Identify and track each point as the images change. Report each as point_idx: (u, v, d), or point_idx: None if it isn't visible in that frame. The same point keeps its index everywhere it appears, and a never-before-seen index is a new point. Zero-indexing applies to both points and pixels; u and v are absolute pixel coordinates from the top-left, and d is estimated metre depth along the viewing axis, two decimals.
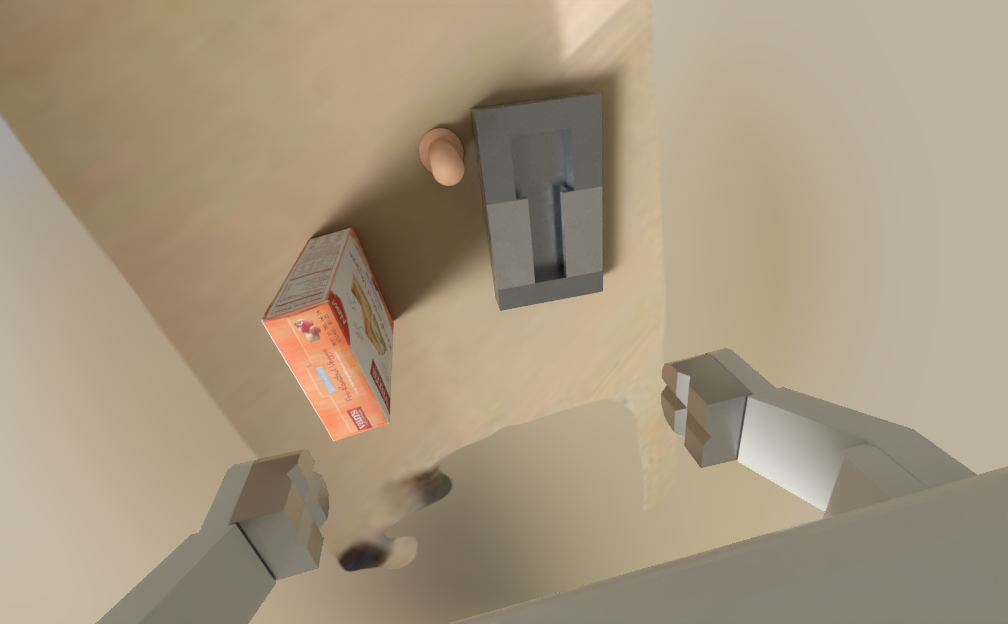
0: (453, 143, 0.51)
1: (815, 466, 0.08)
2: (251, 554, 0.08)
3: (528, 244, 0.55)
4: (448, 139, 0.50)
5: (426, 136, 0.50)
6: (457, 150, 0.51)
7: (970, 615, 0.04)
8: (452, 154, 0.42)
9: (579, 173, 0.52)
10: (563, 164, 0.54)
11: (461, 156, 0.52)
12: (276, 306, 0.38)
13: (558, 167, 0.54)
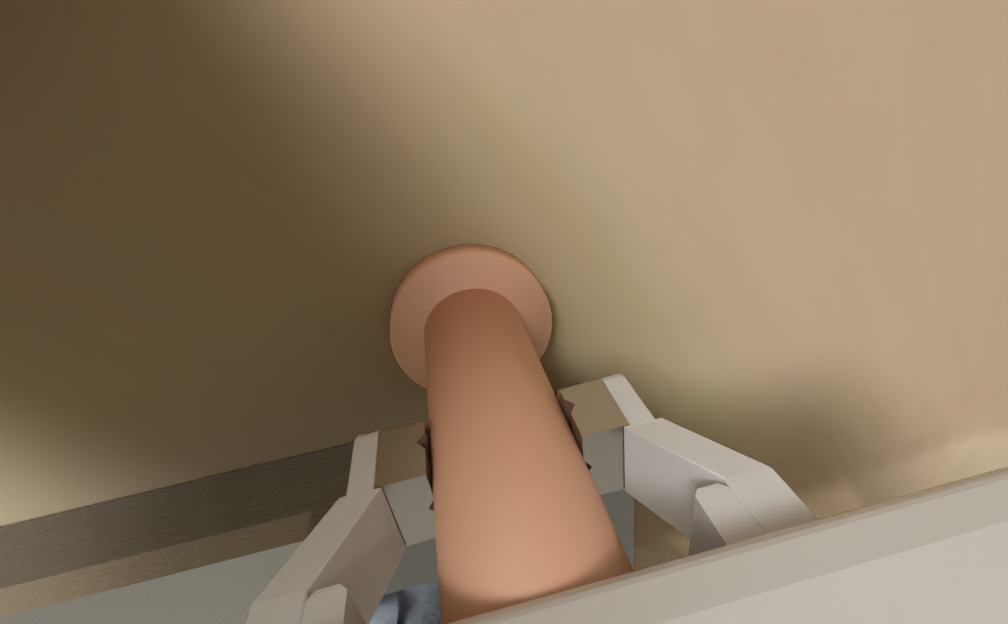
0: None
1: (686, 501, 0.08)
2: (391, 518, 0.08)
3: None
4: None
5: (528, 280, 0.13)
6: None
7: (970, 615, 0.04)
8: None
9: None
10: None
11: None
12: None
13: None
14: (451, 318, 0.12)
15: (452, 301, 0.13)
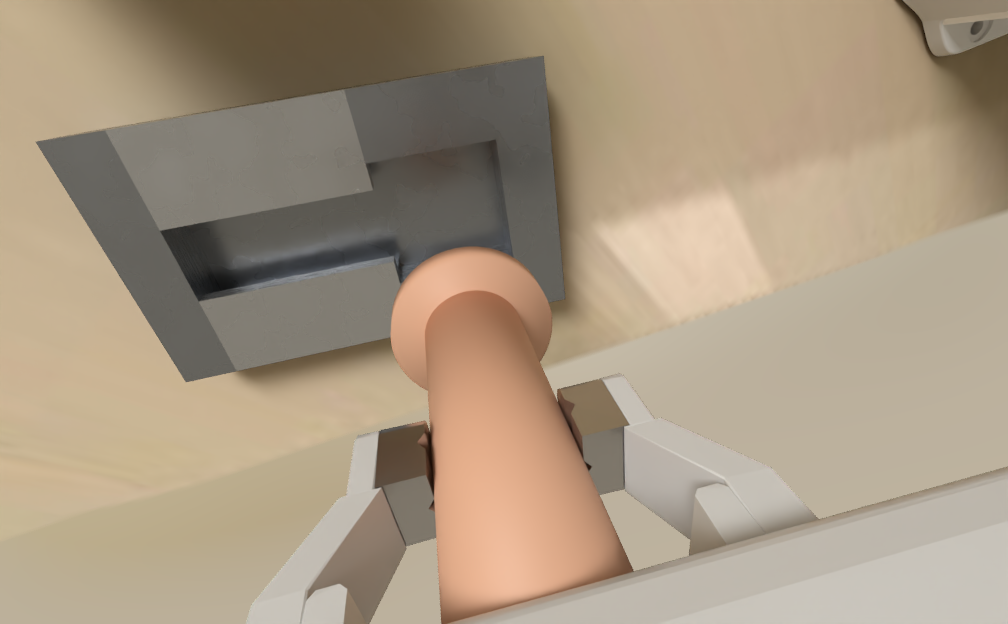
0: None
1: (685, 501, 0.08)
2: (391, 518, 0.08)
3: (263, 203, 0.24)
4: None
5: (528, 282, 0.13)
6: None
7: (970, 615, 0.04)
8: None
9: None
10: (438, 253, 0.29)
11: None
12: None
13: (433, 244, 0.29)
14: (452, 320, 0.12)
15: (452, 303, 0.13)
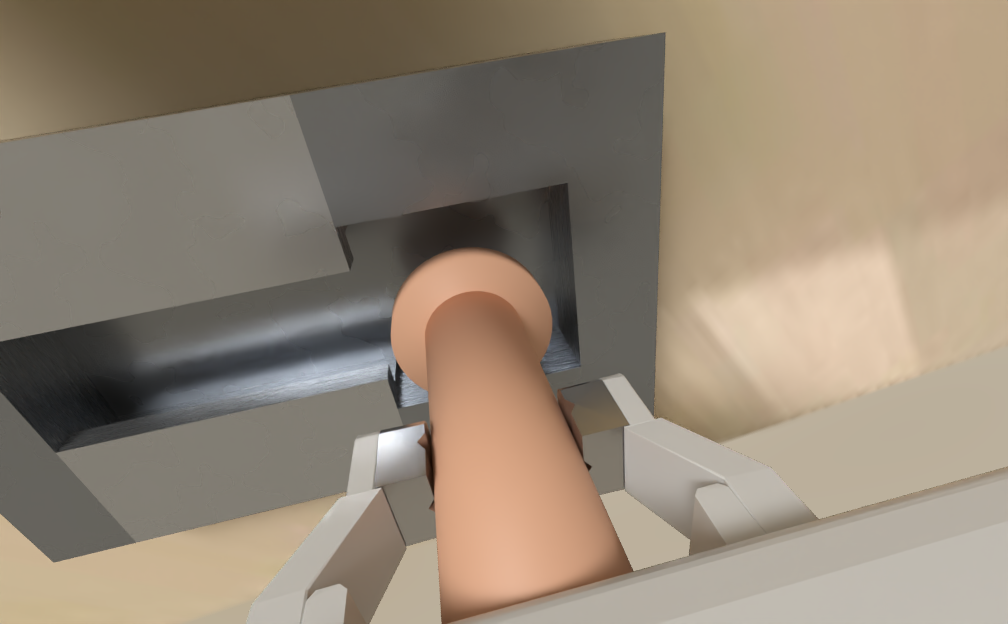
0: None
1: (685, 501, 0.08)
2: (391, 518, 0.08)
3: (151, 298, 0.13)
4: None
5: (528, 283, 0.13)
6: None
7: (970, 615, 0.04)
8: None
9: None
10: None
11: None
12: None
13: None
14: (452, 320, 0.12)
15: (453, 303, 0.13)
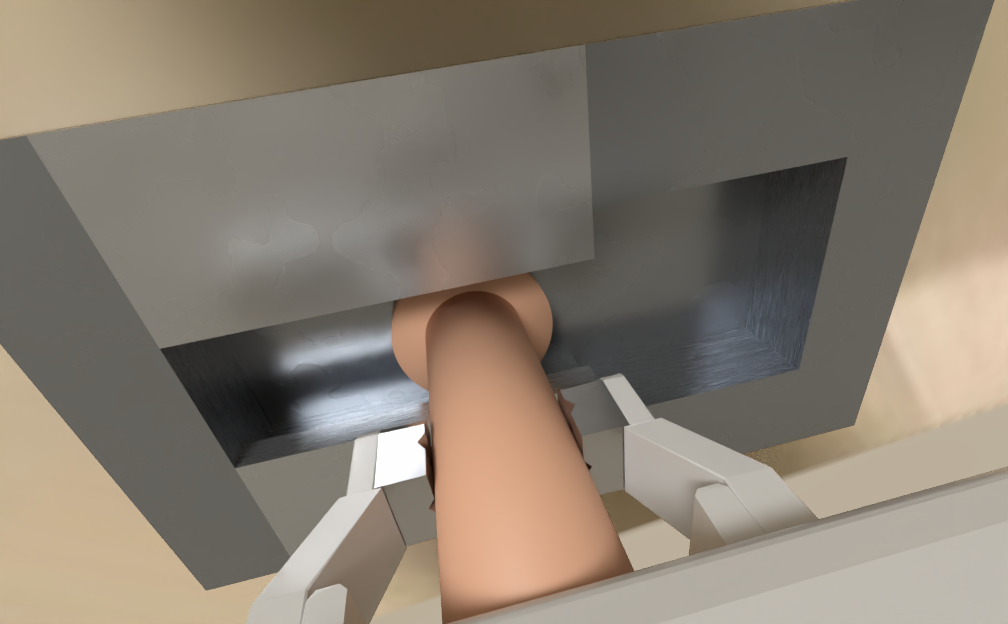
0: None
1: (686, 501, 0.08)
2: (391, 518, 0.08)
3: (377, 289, 0.11)
4: None
5: (529, 283, 0.13)
6: None
7: (970, 615, 0.04)
8: None
9: None
10: (638, 346, 0.17)
11: None
12: None
13: (633, 333, 0.17)
14: (452, 320, 0.12)
15: (453, 303, 0.13)
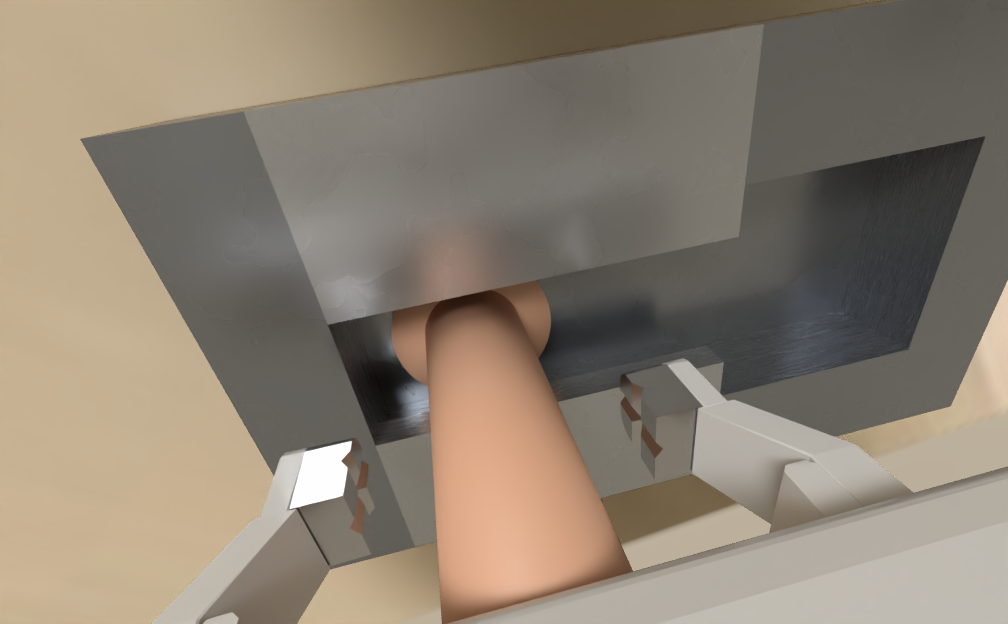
0: None
1: (763, 480, 0.08)
2: (309, 539, 0.08)
3: (535, 265, 0.11)
4: None
5: None
6: None
7: (970, 615, 0.04)
8: None
9: (770, 399, 0.15)
10: (738, 330, 0.17)
11: None
12: None
13: (735, 316, 0.17)
14: (451, 317, 0.12)
15: (452, 300, 0.13)
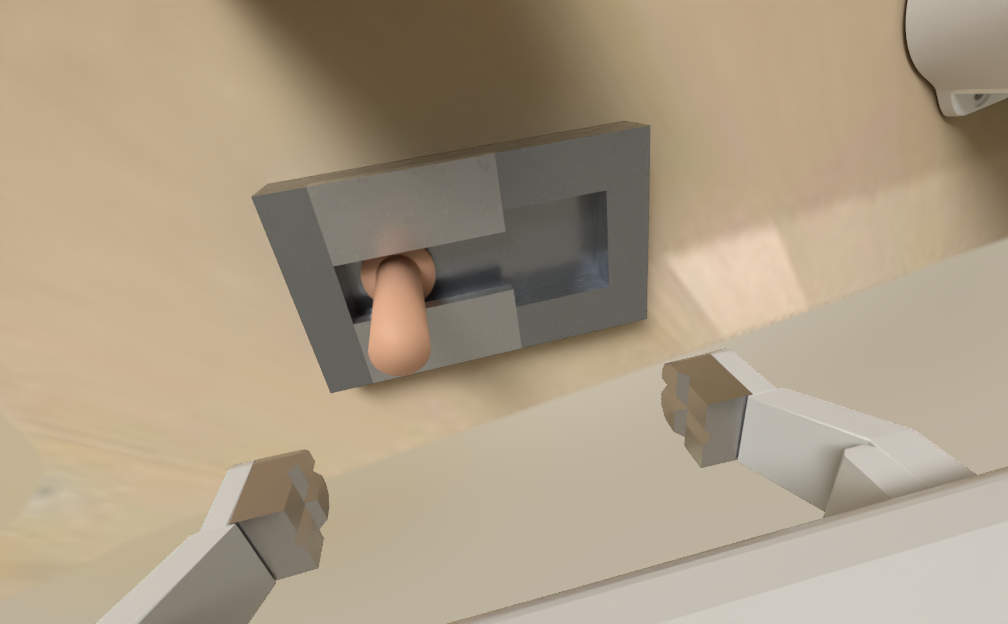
0: None
1: (815, 466, 0.08)
2: (251, 554, 0.08)
3: (418, 243, 0.28)
4: None
5: (422, 251, 0.31)
6: None
7: (970, 615, 0.04)
8: (428, 354, 0.23)
9: (543, 310, 0.33)
10: (539, 280, 0.35)
11: None
12: None
13: (535, 273, 0.34)
14: (385, 265, 0.29)
15: (387, 259, 0.30)
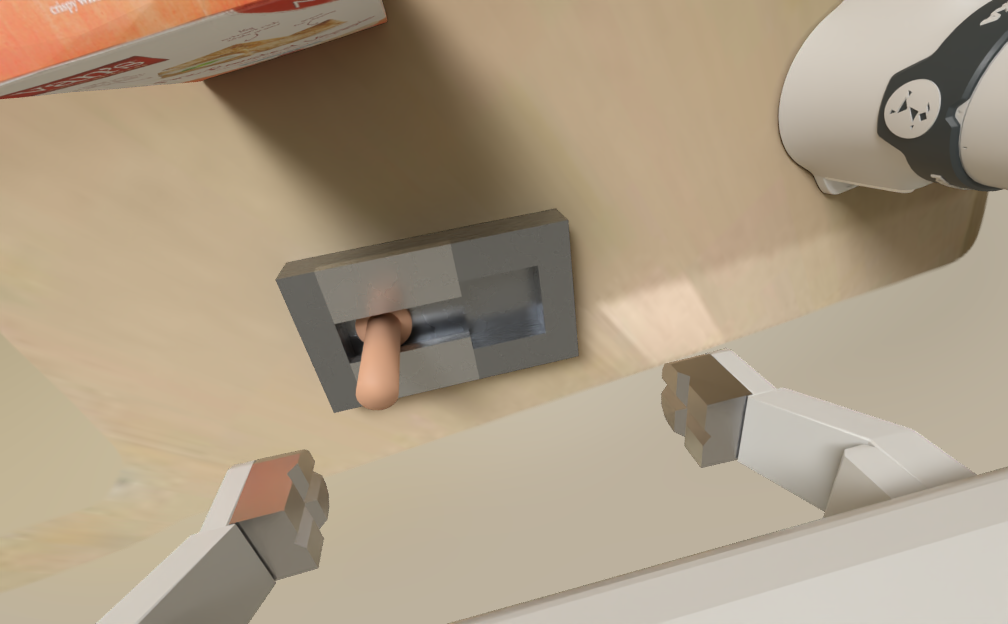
0: None
1: (815, 466, 0.08)
2: (251, 554, 0.08)
3: (396, 306, 0.39)
4: (400, 332, 0.42)
5: None
6: None
7: (970, 615, 0.04)
8: (397, 395, 0.33)
9: (494, 351, 0.42)
10: (494, 326, 0.44)
11: None
12: None
13: (491, 320, 0.44)
14: (373, 321, 0.39)
15: (374, 315, 0.40)
